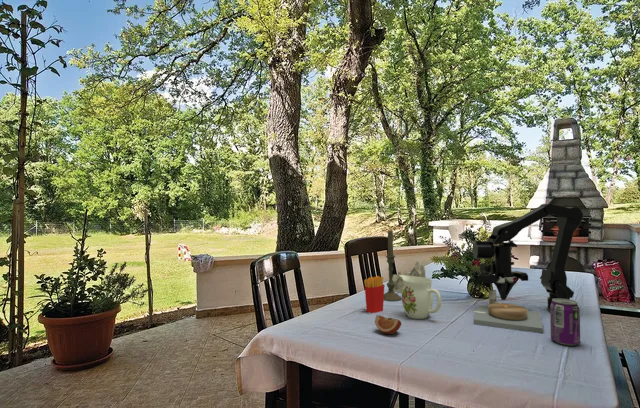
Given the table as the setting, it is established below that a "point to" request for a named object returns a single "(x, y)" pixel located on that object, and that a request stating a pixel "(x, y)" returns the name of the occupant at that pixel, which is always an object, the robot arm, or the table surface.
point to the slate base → (509, 321)
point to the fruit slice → (387, 324)
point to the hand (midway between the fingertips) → (503, 299)
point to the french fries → (374, 294)
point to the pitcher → (418, 297)
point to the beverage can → (565, 321)
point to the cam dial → (505, 309)
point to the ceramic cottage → (414, 272)
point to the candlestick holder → (390, 259)
